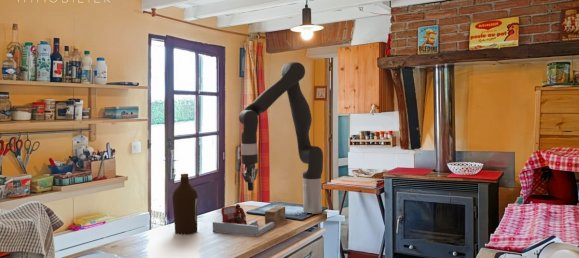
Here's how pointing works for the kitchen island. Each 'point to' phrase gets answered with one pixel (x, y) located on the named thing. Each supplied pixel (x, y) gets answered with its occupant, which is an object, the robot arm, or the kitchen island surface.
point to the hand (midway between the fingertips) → (250, 190)
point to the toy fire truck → (233, 215)
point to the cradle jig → (242, 228)
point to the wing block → (275, 214)
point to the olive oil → (185, 207)
